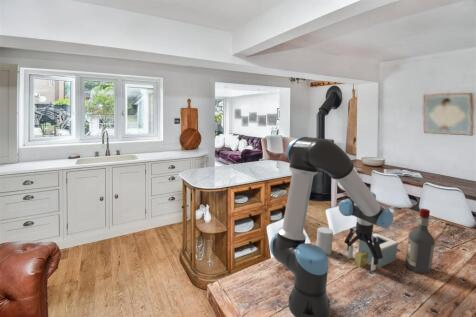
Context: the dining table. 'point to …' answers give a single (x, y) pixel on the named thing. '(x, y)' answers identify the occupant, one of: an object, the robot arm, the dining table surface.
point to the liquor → (420, 246)
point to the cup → (325, 239)
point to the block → (361, 258)
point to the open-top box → (386, 247)
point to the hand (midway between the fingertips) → (361, 263)
